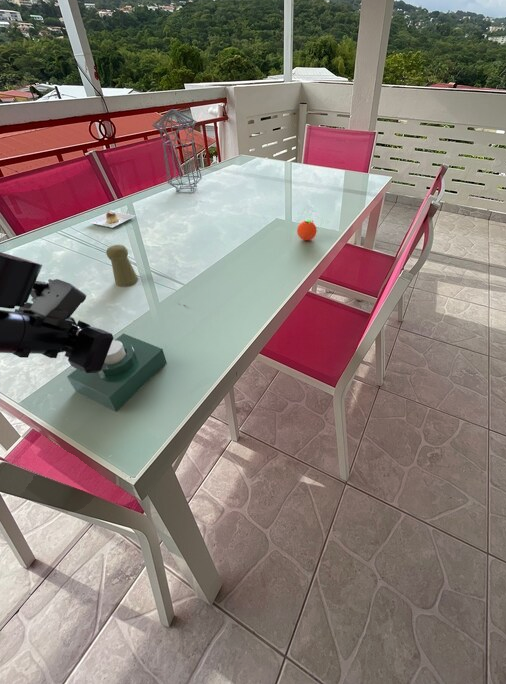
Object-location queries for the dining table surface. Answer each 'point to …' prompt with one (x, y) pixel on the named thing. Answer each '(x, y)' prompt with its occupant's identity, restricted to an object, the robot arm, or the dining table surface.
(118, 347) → the white push button
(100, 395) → the green push button box
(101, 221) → the dessert
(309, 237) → the clementine
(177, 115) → the geometric lantern
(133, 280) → the cork
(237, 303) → the dining table surface
